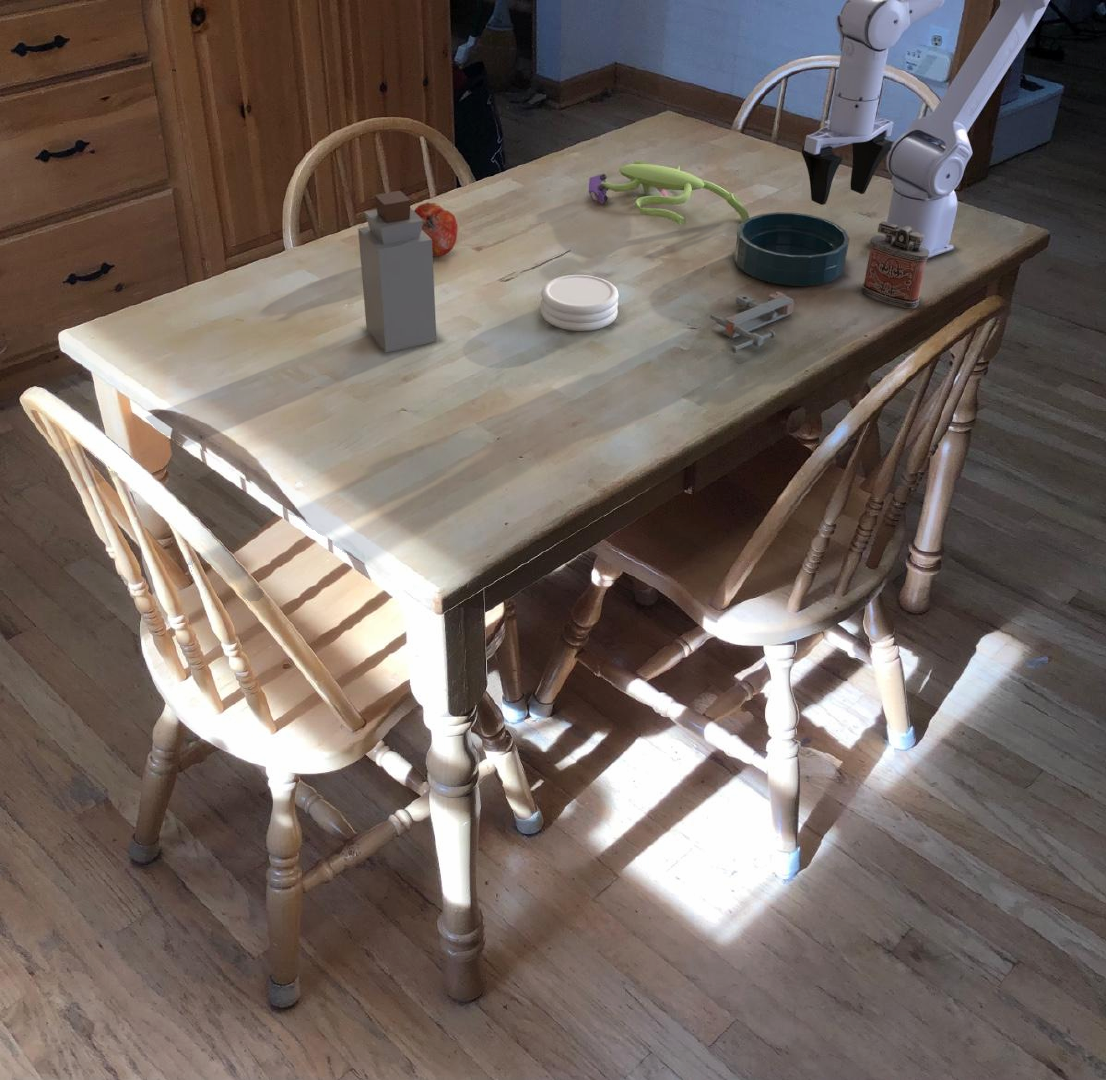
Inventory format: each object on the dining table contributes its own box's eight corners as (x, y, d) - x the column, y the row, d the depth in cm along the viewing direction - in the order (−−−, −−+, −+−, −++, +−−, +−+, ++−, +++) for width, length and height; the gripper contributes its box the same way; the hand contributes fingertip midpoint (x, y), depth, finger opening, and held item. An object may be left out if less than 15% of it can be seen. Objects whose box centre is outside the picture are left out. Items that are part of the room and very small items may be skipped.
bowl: (789, 233, 181) (793, 204, 178) (866, 270, 171) (871, 240, 169) (712, 257, 174) (715, 227, 171) (788, 297, 164) (792, 266, 161)
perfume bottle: (386, 352, 150) (375, 212, 139) (366, 329, 155) (355, 192, 144) (436, 341, 153) (430, 203, 142) (415, 318, 158) (408, 183, 147)
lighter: (922, 302, 164) (938, 231, 158) (911, 310, 162) (926, 239, 156) (868, 284, 168) (881, 215, 162) (856, 292, 166) (869, 222, 160)
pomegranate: (408, 258, 177) (390, 241, 167) (420, 209, 177) (403, 189, 167) (456, 270, 176) (442, 253, 166) (469, 220, 176) (455, 201, 166)
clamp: (762, 282, 163) (819, 309, 157) (760, 297, 164) (816, 325, 158) (680, 314, 155) (737, 344, 149) (679, 329, 156) (735, 360, 150)
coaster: (529, 324, 157) (529, 299, 155) (556, 292, 164) (556, 268, 162) (603, 338, 154) (604, 313, 152) (627, 305, 162) (628, 280, 159)
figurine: (656, 252, 175) (658, 215, 172) (566, 188, 194) (567, 153, 190) (760, 229, 182) (765, 193, 179) (664, 169, 201) (667, 135, 197)
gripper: (872, 78, 163) (853, 177, 172) (794, 94, 156) (778, 197, 164) (912, 92, 159) (891, 194, 167) (834, 109, 152) (816, 214, 160)
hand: (838, 196), depth 165 cm, fingers open, 7 cm apart
